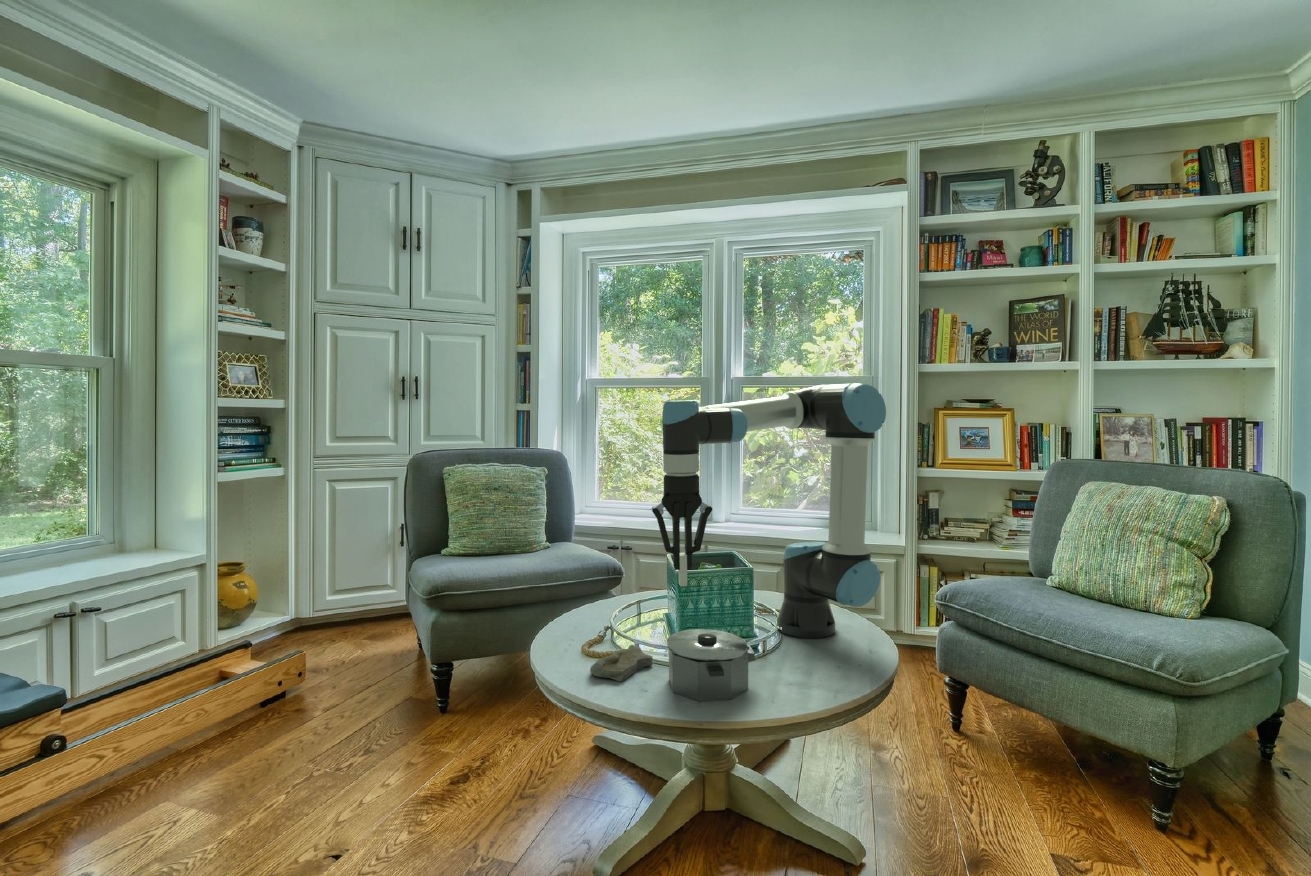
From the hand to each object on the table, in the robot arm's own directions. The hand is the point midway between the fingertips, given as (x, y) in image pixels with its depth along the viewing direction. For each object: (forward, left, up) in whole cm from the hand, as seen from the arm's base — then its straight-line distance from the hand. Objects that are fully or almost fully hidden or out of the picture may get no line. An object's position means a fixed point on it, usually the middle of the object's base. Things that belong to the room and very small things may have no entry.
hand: (682, 584), depth 143 cm
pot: (-5, 0, -22) cm, 22 cm away
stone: (+13, -10, -22) cm, 28 cm away
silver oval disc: (-5, 0, -13) cm, 14 cm away
